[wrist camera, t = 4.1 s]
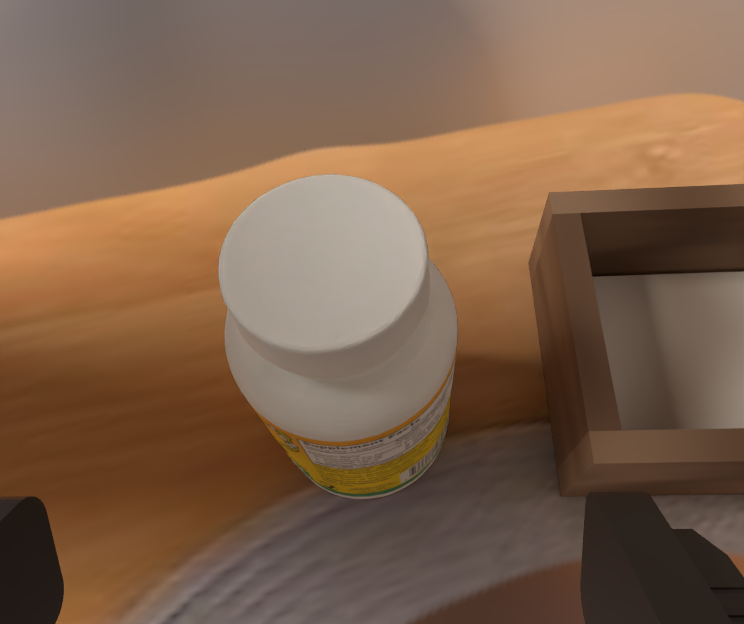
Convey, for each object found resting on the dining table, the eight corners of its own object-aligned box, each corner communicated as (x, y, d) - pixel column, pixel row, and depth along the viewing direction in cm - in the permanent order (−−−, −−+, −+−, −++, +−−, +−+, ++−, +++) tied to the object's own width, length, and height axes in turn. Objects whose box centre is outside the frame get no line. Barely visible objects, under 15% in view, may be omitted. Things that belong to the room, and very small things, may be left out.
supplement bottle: (458, 493, 19) (490, 376, 10) (283, 510, 19) (169, 409, 10) (435, 333, 21) (445, 133, 13) (281, 349, 21) (188, 161, 13)
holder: (560, 496, 18) (594, 463, 15) (528, 262, 22) (549, 192, 19) (848, 492, 18) (954, 457, 14) (764, 254, 22) (832, 180, 18)
